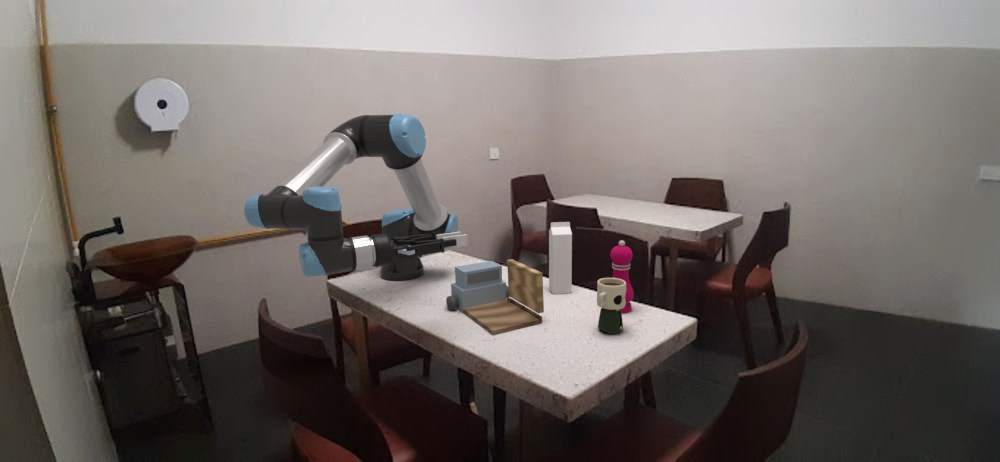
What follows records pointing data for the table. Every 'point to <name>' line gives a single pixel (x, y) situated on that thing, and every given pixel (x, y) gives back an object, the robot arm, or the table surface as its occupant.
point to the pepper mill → (623, 270)
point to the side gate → (525, 285)
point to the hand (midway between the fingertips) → (463, 238)
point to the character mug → (611, 303)
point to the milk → (560, 258)
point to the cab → (477, 285)
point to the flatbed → (502, 316)
